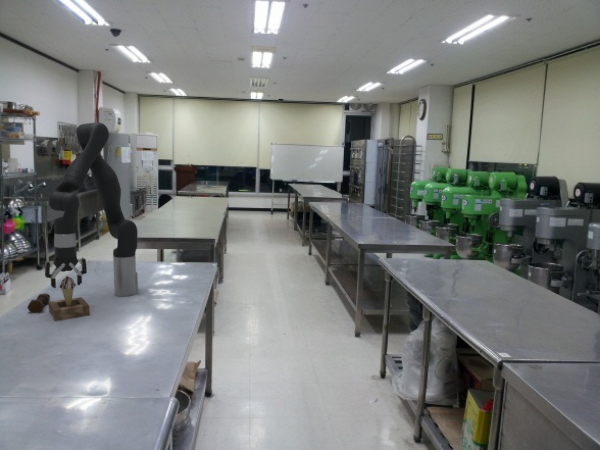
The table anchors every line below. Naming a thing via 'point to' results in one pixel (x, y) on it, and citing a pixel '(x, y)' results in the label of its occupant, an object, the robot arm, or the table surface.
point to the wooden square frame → (68, 309)
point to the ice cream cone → (67, 289)
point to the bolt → (38, 303)
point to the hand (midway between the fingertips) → (66, 286)
